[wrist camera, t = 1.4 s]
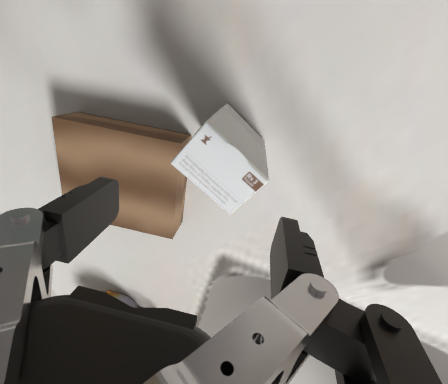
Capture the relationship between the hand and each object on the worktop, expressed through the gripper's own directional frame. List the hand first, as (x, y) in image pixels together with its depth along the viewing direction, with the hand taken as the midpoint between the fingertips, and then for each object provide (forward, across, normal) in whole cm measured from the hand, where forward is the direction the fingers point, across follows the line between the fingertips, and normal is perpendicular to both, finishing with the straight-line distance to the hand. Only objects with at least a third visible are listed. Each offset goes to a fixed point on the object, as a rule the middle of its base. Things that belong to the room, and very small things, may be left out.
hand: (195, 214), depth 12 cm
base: (+18, +12, +7) cm, 23 cm away
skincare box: (+18, 0, 0) cm, 18 cm away
